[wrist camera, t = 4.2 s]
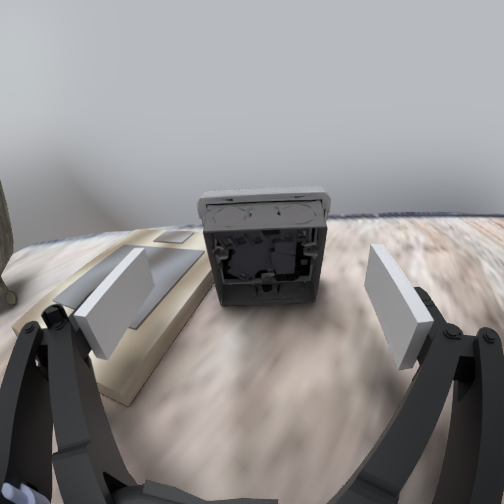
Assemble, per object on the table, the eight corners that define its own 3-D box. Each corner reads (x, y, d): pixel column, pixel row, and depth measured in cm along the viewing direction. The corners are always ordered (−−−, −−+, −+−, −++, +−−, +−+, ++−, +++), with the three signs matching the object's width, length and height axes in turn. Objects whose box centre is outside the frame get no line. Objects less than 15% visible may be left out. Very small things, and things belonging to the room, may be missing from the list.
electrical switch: (317, 277, 25) (323, 179, 20) (328, 317, 20) (342, 205, 15) (216, 281, 25) (201, 185, 20) (208, 322, 21) (184, 212, 16)
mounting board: (240, 245, 32) (239, 232, 31) (128, 406, 13) (117, 390, 12) (138, 239, 35) (135, 228, 35) (18, 338, 17) (10, 324, 16)
